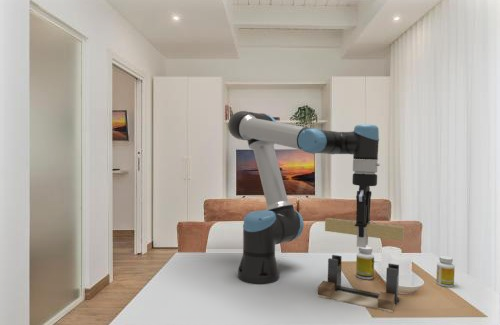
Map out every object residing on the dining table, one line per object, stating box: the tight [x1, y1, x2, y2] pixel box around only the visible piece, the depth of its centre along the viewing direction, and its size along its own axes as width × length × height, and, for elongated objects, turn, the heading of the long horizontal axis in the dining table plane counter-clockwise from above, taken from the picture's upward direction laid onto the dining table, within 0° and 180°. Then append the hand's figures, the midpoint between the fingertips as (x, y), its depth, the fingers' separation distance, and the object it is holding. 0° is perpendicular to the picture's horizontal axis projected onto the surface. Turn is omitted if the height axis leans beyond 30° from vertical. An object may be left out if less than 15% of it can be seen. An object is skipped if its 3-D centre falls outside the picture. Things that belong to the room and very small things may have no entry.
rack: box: [327, 254, 400, 305], centre depth 110 cm, size 22×6×10 cm, turn 62°
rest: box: [316, 280, 396, 313], centre depth 105 cm, size 22×7×3 cm, turn 62°
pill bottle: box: [355, 245, 375, 280], centre depth 126 cm, size 6×6×11 cm
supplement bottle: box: [435, 255, 455, 288], centre depth 120 cm, size 5×5×10 cm
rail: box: [324, 217, 405, 242], centre depth 110 cm, size 24×3×4 cm, turn 62°
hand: (362, 245), depth 110 cm, fingers closed on rail, 3 cm apart
